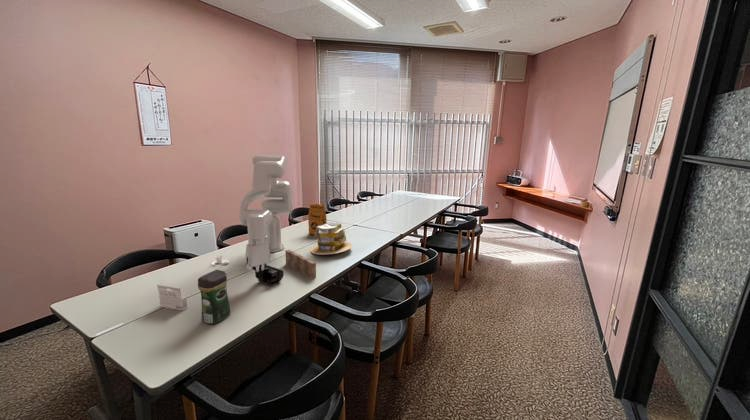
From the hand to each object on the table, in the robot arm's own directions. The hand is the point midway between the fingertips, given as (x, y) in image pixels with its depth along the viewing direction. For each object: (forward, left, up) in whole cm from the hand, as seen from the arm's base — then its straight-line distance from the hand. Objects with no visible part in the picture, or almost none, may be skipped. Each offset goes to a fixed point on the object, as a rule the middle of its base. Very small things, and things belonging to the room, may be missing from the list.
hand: (259, 278), depth 144 cm
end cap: (0, +5, -4) cm, 7 cm away
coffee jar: (+13, -24, -4) cm, 28 cm away
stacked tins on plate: (-11, +53, -4) cm, 54 cm away
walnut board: (0, +23, -4) cm, 23 cm away
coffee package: (-41, +66, -4) cm, 78 cm away
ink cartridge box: (-6, -33, -4) cm, 34 cm away
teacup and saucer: (-35, -5, -4) cm, 36 cm away
